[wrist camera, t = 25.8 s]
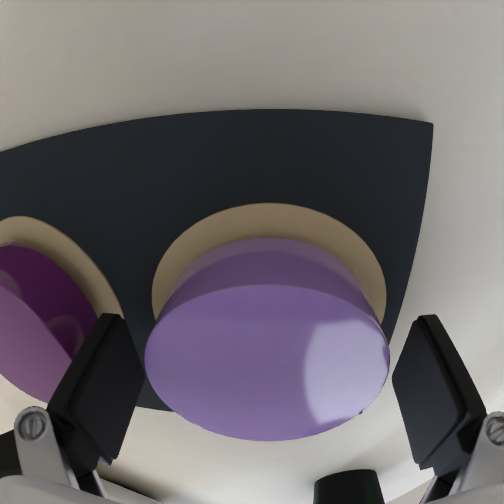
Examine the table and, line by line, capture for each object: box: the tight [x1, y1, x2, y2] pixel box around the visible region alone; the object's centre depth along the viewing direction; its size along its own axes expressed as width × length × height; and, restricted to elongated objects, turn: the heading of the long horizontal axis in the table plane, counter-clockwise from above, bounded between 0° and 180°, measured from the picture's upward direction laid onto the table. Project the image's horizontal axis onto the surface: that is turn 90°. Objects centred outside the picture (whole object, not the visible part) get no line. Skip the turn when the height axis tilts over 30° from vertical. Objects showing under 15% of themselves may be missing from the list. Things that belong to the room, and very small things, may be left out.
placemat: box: [0, 109, 433, 414], centre depth 11 cm, size 14×20×1 cm
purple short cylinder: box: [0, 242, 98, 403], centre depth 10 cm, size 7×7×3 cm
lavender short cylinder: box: [144, 238, 390, 441], centre depth 10 cm, size 7×7×3 cm
